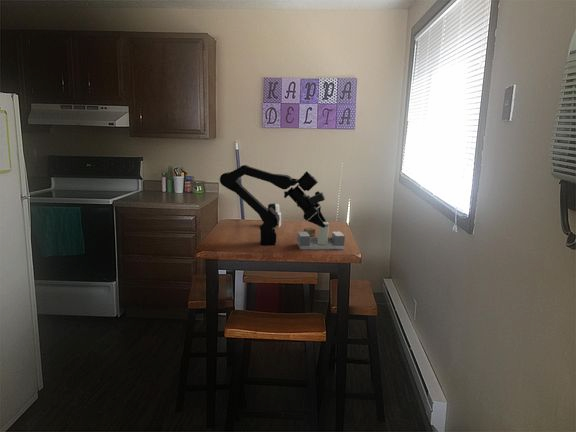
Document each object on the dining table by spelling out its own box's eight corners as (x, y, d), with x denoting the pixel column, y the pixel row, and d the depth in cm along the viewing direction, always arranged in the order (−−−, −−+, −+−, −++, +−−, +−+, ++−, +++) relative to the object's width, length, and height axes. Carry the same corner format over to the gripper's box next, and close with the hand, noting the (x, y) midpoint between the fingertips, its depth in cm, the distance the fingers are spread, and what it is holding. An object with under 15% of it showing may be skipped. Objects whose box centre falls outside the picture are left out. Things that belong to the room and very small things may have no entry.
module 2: (335, 245, 188) (336, 235, 187) (331, 241, 196) (332, 231, 195) (344, 245, 188) (344, 235, 188) (339, 241, 196) (340, 231, 195)
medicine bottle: (265, 227, 230) (265, 204, 228) (267, 224, 237) (268, 202, 235) (279, 228, 229) (279, 205, 227) (281, 225, 236) (281, 203, 234)
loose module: (317, 244, 190) (318, 223, 188) (318, 241, 194) (319, 221, 192) (327, 244, 189) (328, 224, 187) (327, 242, 194) (328, 222, 192)
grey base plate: (300, 249, 186) (300, 242, 185) (296, 243, 196) (297, 237, 195) (344, 249, 188) (344, 242, 188) (338, 243, 198) (339, 237, 197)
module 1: (300, 245, 186) (300, 235, 185) (297, 241, 194) (297, 231, 193) (309, 245, 186) (309, 235, 186) (306, 241, 194) (306, 231, 194)
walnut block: (307, 238, 208) (307, 229, 207) (303, 236, 211) (303, 228, 210) (315, 237, 209) (315, 229, 209) (311, 235, 213) (311, 227, 212)
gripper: (312, 188, 179) (338, 216, 179) (316, 183, 197) (339, 209, 197) (292, 206, 181) (318, 234, 182) (298, 200, 199) (321, 225, 200)
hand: (325, 225), depth 190 cm, fingers open, 9 cm apart
